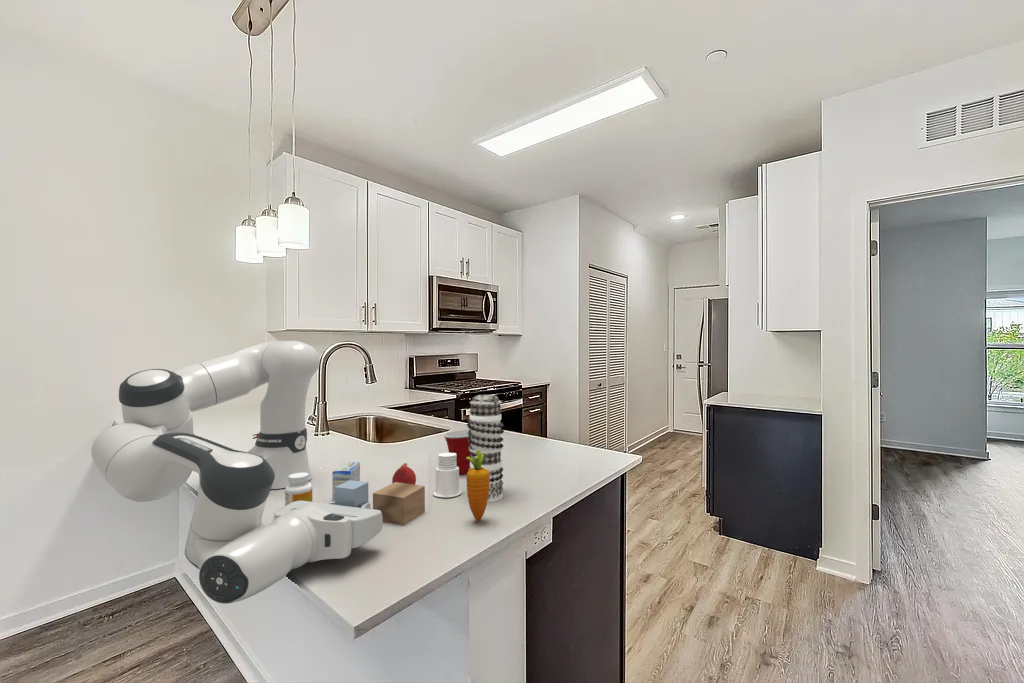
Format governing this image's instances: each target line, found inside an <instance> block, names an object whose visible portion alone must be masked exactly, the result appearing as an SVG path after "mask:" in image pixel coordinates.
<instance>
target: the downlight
mask: <svg viewBox="0 0 1024 683" xmlns="http://www.w3.org/2000/svg"><path fill="white" fill-rule="evenodd" d="M437 458H438V459H437V461H438V462H437V467H436V468H435V490H434V492H433V493H432V494H433V496H435V497H438V498H443V499H448V498H453V497H458V496H460V495H462V490H460V475H459V467H458V466H456V465H457V463H456V462H457V461H456V460H457V459H456V458H457V454H456V453H449V452H442V453H438V457H437Z"/></svg>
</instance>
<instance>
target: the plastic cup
mask: <svg viewBox="0 0 1024 683" xmlns="http://www.w3.org/2000/svg"><path fill="white" fill-rule="evenodd" d="M469 430H470V429H469V428H465V429H464V428H462V429H457V430H452V431H447V432H445V433H443V434H442V435H443V438H444V439H445V442H446V444H447V448H448V449H447V450H448V453H456V454H457V458H456V459H457V460H456V461H457V462H456V463H457V465H456V466H458V467H459V476H460V475H461V476H463V475H467V472H468V471H469V468H470V461H469V460H467V459H466V458H467V457H470V458H471V451H469V448H468V446H469V445H470V444H471V443H469V442H468V438H469V435H468V431H469Z"/></svg>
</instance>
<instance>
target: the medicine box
mask: <svg viewBox="0 0 1024 683" xmlns="http://www.w3.org/2000/svg"><path fill="white" fill-rule="evenodd" d="M331 480H332V481H331V482H332V492H331V493H332V498H331V499H332V500H331V502H334V501H335V487H336V486H338V485H340V484H343V483H345V482H347V481H349V480H353V481H361V463H360V461H343V462H342V463H340V464H339V465H338V466H337V467H336V468H335V469H334V470H333V471H332V478H331Z"/></svg>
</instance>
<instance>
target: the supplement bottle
mask: <svg viewBox="0 0 1024 683" xmlns="http://www.w3.org/2000/svg"><path fill="white" fill-rule="evenodd" d="M308 480H309V474H308V473H304V472H303V473H295V474H291V475H289V480H288V482H289V483H290V485H288V486H287V487H286V488H284V506H286V505H288V504H290V503H292V502H295V501H309V502H313V485H312V483H311V482H309V481H310V480H309V481H308Z"/></svg>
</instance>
